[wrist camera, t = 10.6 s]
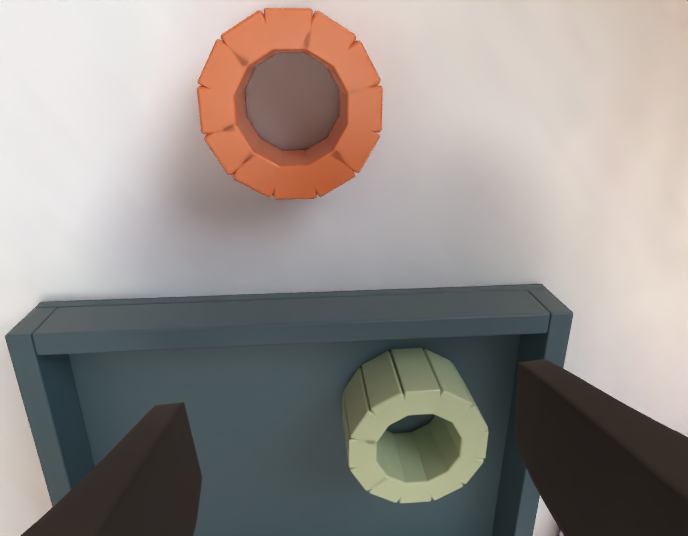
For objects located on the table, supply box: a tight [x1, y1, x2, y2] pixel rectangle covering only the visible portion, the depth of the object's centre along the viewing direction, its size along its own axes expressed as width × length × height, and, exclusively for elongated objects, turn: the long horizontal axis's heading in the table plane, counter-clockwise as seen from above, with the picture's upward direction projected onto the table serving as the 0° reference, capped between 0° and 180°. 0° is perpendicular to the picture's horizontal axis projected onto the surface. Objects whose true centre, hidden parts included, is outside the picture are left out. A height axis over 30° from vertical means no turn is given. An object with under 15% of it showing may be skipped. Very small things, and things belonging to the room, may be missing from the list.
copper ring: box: [197, 8, 383, 199], centre depth 15 cm, size 5×5×3 cm
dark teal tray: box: [5, 284, 573, 536], centre depth 21 cm, size 19×15×2 cm
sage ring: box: [342, 348, 489, 503], centre depth 19 cm, size 5×5×3 cm
